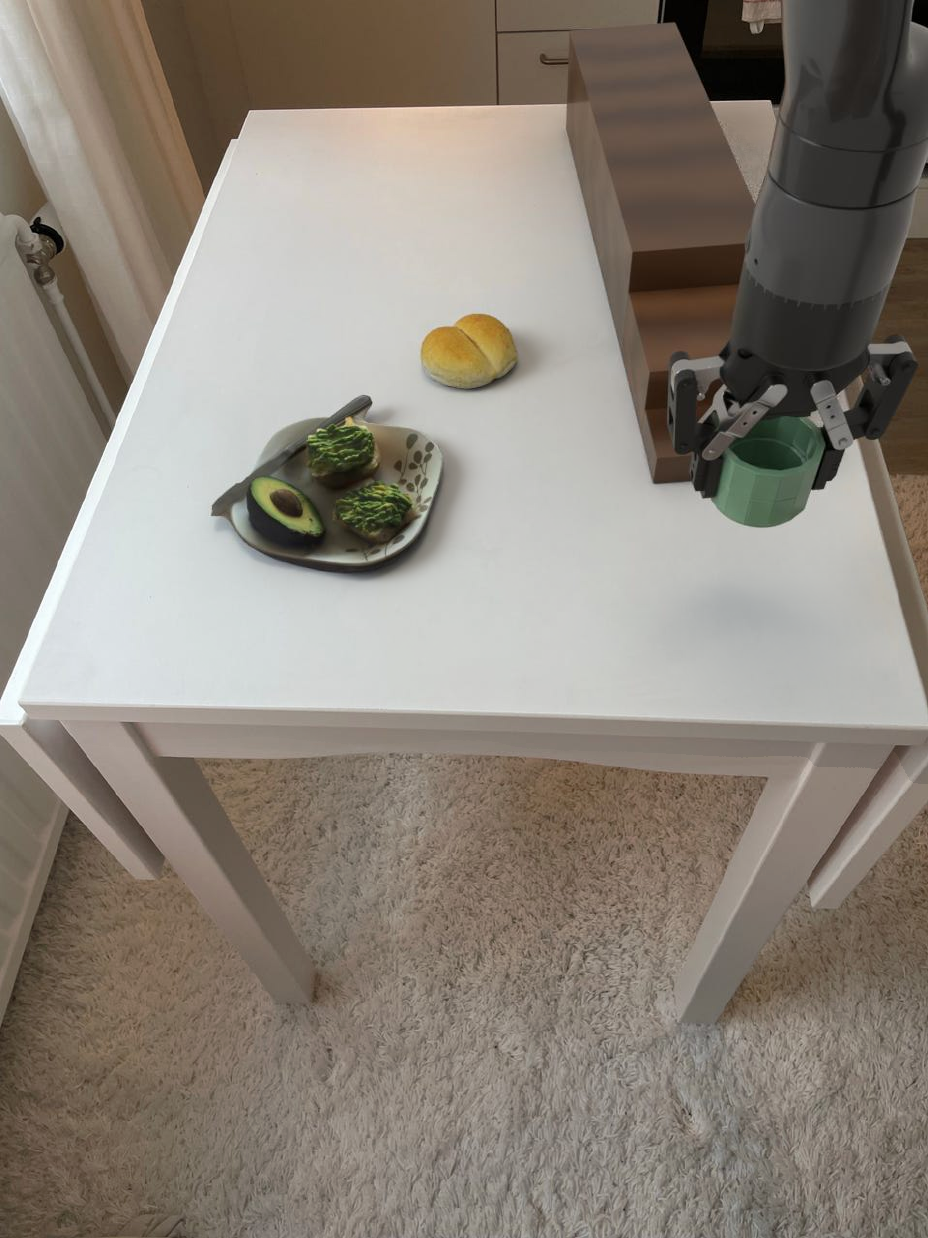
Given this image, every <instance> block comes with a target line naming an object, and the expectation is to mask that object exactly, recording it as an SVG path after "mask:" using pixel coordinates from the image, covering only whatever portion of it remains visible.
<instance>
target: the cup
mask: <svg viewBox="0 0 928 1238" xmlns="http://www.w3.org/2000/svg"><path fill="white" fill-rule="evenodd" d="M819 427H820V426H818V425H817V423H815V422H814V421H813V420H811V419H810V417H798V418H797V417H790V416H783V417H779V418H775V419H772V420H761V421H758V422H757V423H756V424H755V425H754V427H753V428H752V429H751V430H750V431H749V432H748V433H747V434H746V435H745V436H744V437H743V438H736V439H735V440H734V441H733V442H732V443H731V444H730V445H729V446H728V447H727V449H726V450H725V451H724V452H723V453H722V454H721V456H722V459H723V460H722V465H721V469H720V474H719V479H718V483H717V488H716V492H715V497H714V498H710V500H711V502H712V503H713V504H714V505H715V507H716V508H717V510H718V511H719V512H720V513H721V514H722V515H723V516H725V517H726V518H727V519H729V520H731V521H733V522H734V523H737V524H739V525H742V526H746V527H749V528H756V529H757V528H758V529H759V528H760V529H765V528H774V527H778V526H781V525H784V524H786V523H788V522H790V521H792V520H793V519H794V518H796V517H797V516H798V515H800V514H801V513H803V512H804V511H805V509H806V506H807V503H808V501H809V497H810V495H811V491H812V490H811V489H812V486H813V483H814V480H815V476H816V473H817V470H818V467H819V464H820V461H821V458H822V455H823V452H824V449H825V446H826V444H825V441H824V438H823V435H822V432H821V430H820V428H819Z"/></svg>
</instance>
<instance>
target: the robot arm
mask: <svg viewBox="0 0 928 1238" xmlns="http://www.w3.org/2000/svg"><path fill="white" fill-rule="evenodd" d="M914 3H915V0H780V15H781V16H780V20H781V21H780V22H781V39H782V50H783V51H782V52H783V63H784V86H783V91H782V94H781V98H780V99H781V100H780V102H779V107H778V112H777V117H776V122H775V127H774V132H773V136H772V142H771V146H770V152H769V157H768V163H767V167H766V170H765V174H764V177H763V180H762V183H761V186H760V189H759V191H758V194H757V197H756V200H755V202H754V203H755V207H754V212H753V216H752V221H751V226H750V228H749V230H748V232H747V235H746V240H745V256H744V262H743V267H742V272H741V277H740V282H739V287H738V292H737V298H736V303H735V308H734V313H733V318H732V324H731V331H730V336H729V339H728V341H727V342H726V344H725V345H724V346H723V348H722V349H721V350H720V351H719V353H718V355H717V356H714V357H708V358H701V359H695V360H691V359H690V356H689V354H688V353H687V352H685V351H678V352H675V353H674V354H672V355H671V357H670V359H669V378H668V412H667V424H668V428H669V432H670V436H671V439H672V443H673V447H674V450H675V452H676V453H677V454H679V455H685V454H688V453H690V452H693V453H692V458H691V465H690V469H689V472H690V476H691V479H692V481H691V483H692V486H693V489H694V492H695V493H696V492H700V496H701V499H703V500H704V499H711V498H714V497H715V492H716V488H717V483H718V479H719V474H720V469H721V465H722V460H723V459H722V456H721V454H722V453H723V452H724V451H725V450H726V449H727V447H728V446H729V445H730V444H731V443H732V442H733V441H734V440H735V439H736V438H743V437H744V436H745V435H746V434H747V433H748V432H749V431H750V430H751V429H752V428H753V427H754V425H755V424H756V423H757V422H758V421H761V420H772V419H775V418H779V417H783V416H790V417H797V418H798V417H808V418H810V417H811V415H812V413H814V412H816V411H818V414H819V416H820V418H821V421H822V426H818V427H819V428H820V430H821V432H822V435H823V438H824V441H825V444H826V446H825V449H824V452H823V455H822V458H821V461H820V464H819V467H818V470H817V473H816V476H815V480H814V483H813V486H812V489H811V491H820V490H821V491H822V490H825V488H826V484H827V482H832V481H833V480H834V478H835V477H836V476H837V474H838V472H839V468H840V465H841V463H842V460H843V457H844V455H845V451H846V449H848V448H849V447H851V446H852V445H853V444H854V441H855V440H858V439H860V438H865V439H866V440H869V441H875V440H878V439H880V438H882V437H883V436H884V435H885V434H886V432H887V430H888V427H889V426H890V424H891V422H892V419H893V417H894V416H895V414H896V412H897V410H898V408H899V405H900V404H901V402H902V400H903V398H904V396H905V394H906V392H907V390H908V388H909V386H910V384H911V382H912V380H913V378H914V376H915V374H916V372H917V370H918V367H919V363H918V361H917V359H916V357H915V355H914V353H913V351H912V350H911V349H912V348H910V345H909V344H908V342H907V341H906V339H905V337H904V336H903V334H900V333H894V334H891V335H889V336H887V337H886V338H885V339H884V340H883V342H882V343H872V341H873V338H874V335H875V332H876V329H877V325H878V322H879V320H880V316H881V314H882V311H883V308H884V305H885V302H886V299H887V296H888V294H889V290H890V288H891V285H892V281H893V279H894V275H895V272H896V269H897V267H898V264H899V261H900V259H901V254H902V253H903V250H904V246H905V243H906V240H907V237H908V233H909V230H910V227H911V222H912V218H913V212H914V207H915V201H916V195H917V191H918V189H919V186H920V180H921V177H922V175H923V171H924V168H925V165H926V162H927V159H928V27H926V26H924V25H921V24H918V23H916V22H914V21H912V15H913V7H914ZM866 370H867V372H868V375H867V377H866V379H865V381H864V384H863V386H862V388H861V390H860V392H859V394H858V397H857V399H856V401H855V403H854V405H853V408H851V409H848V410H845V411H843V408H842V406H841V403H840V401H839V398H838V395H839V394H841V392H842V391H844V390H845V389H847V387H849V385H851V383H853V382H854V381H855V380H856V379H858V378H859V377H860V376H861V375H863V373H864V372H866ZM720 378H721V380H722V382H723V383H724V384H723V385H722V387H721V388H720V389H719V390H718V391H717V393H716V394H715V396H714V398H713V404H712V406H711V407H710V408H709V409H708V411H707V412H706V413H705V414H704V415H703V417H702V418H701V419H700V420H699V421H698V422H696V409H697V400H699V401H700V400H703V399H704V398H705V395H704V394H705V393H706V392H707V391H708V388H709V385H710V384H711V383H712V382H713V381H714V380H717V379H720ZM738 403H739V404H740V405H741V407H742V408H741V409H740V408H739V405H738Z"/></svg>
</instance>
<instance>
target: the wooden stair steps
mask: <svg viewBox="0 0 928 1238" xmlns="http://www.w3.org/2000/svg"><path fill="white" fill-rule="evenodd" d="M568 33H569V38H568V61H567V62H568V63H567V64H568V65H567V89H566V92H567V93H566V118H565V128H566V133H567V138H568V142H569V145H570V146H569V147H570V151H571V154H572V158H573V162H574V166H575V170H576V174H577V179H578V182H579V187H580V190H581V195H582V199H583V202H584V207H585V211H586V216H587V219H588V223H589V228H590V231H591V236H592V240H593V244H594V248H595V253H596V256H597V257H596V258H597V260H598V265H599V268H600V273H601V277H602V281H603V285H604V288H605V289H604V290H605V293H606V297H607V302H608V305H609V309H610V313H611V318H612V322H613V326H614V330H615V334H616V338H617V343H618V346H619V351H620V354H621V358H622V363H623V367H624V370H625V374H626V379H627V384H628V387H629V391H630V395H631V399H632V403H633V408H634V411H635V416H636V419H637V424H638V428H639V432H640V436H641V440H642V443H643V448H644V452H645V456H646V460H647V464H648V469H649V472H650V473H649V474H650V476H651V480H652V484H662V483H663V484H665V483H677V482H690V481H691V482H692V479H691V476H690V472H689V469H690V465H691V458H692V453H693V452H690V453H688V454H685V455H679V454H677V453H676V452H675V450H674V447H673V443H672V439H671V436H670V432H669V428H668V424H667V412H668V378H669V359H670V357H671V355H672V354H674V353H675V352H678V351H685V352H687V353H688V354H689V356H690V359H691V360H695V359H701V358H708V357H714V356H717V355H718V353H719V351H720V350H721V349H722V348H723V346H724V345H725V344H726V342H727V341H728V339H729V336H730V331H731V324H732V318H733V313H734V308H735V303H736V298H737V292H738V287H739V282H740V277H741V272H742V267H743V262H744V256H745V240H746V235H747V232H748V230H749V228H750V226H751V221H752V216H753V212H754V207H755V203H756V202H755V201H754V198H753V196H752V193H751V191H750V189H749V187H748V185H747V183H746V180H745V178H744V176H743V174H742V171H741V169H740V167H739V164H738V162H737V160H736V158H735V155H734V153H733V151H732V148H731V147H730V143H729V141H728V140H727V137H726V135H725V132H724V131H723V128H722V126H721V123H720V122H719V119H718V116H717V114H716V112H715V110H714V108H713V105H712V103H711V100H710V99H709V97H708V94H707V92H706V90H705V87H704V85H703V83H702V81H701V78H700V75H699V74H698V71H697V69H696V66H695V65H694V63H693V60H692V58H691V55H690V53H689V51H688V49H687V46H686V44H685V42H684V40H683V37H682V35H681V32H680V30H679V29H678V26H677V24H676V22H674V21H673V22H661V23H649V24H637V25H625V26H624V25H623V26H612V27H610V26H609V27H598V28H586V29H585V28H584V29H573V30H571V29H570V30H569V32H568ZM723 384H724V383H723V382H722V380H721V378H720V379H717V380H714V381H713V382H712V383H711V384H710V385H709V388H708V391H707V392H706V393H705V394H704V395H705V398H704V399H703V400H700V401H699V400H697V409H696V422H698V421H699V420H700V419H701V418H702V417H703V415H704V414H705V413H706V412H707V411H708V409H709V408H710V407H711V406H712V404H713V398H714V396H715V394H716V393H717V391H718V390H719V389H720V388H721V387H722V385H723ZM738 405H739V408H740V409H741V408H742V407H741V405H740V404H739V403H738Z"/></svg>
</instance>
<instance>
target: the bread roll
mask: <svg viewBox="0 0 928 1238" xmlns="http://www.w3.org/2000/svg"><path fill="white" fill-rule="evenodd" d="M518 356H519V355H518V350H517V348H516V345H515V341H514V338H513V335H512V333H511V331H510V329H509V328H508V327H507V326H506V325H505V324H504V323H503V322H502V321H501V320H499V319H498V318H496V317H495V316H493V315H490V314H486V313H470V314H466V315H464V316H462V317H461V318H460V319H458V320H457V321H456V322H455V323H454V325H452V326H447V325H446V326H439V327H436V328H435V329H432V330H431V331H430V332H429V333H428V334H427V335H425V337H424V339H423V341H422V343H421V347H420V361H421V366H422V368H423V370H424V372H425V374H426V375H427V376H428V377H429V378H430V379H432V380H433V381H435V382H437V383H439V384H441V385H442V386H448V387H452V388H458V389H467V390H469V389H475V388H480V387H483V386H485V385H488V384H490V383H492V381H493V380H494V379H499V378H502V377H503V376H505V375H507V374H508V373H509V372H510V371H511V370H512V369H513V367H514V366H515V365H516V364H517V361H518V359H519V357H518Z"/></svg>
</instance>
